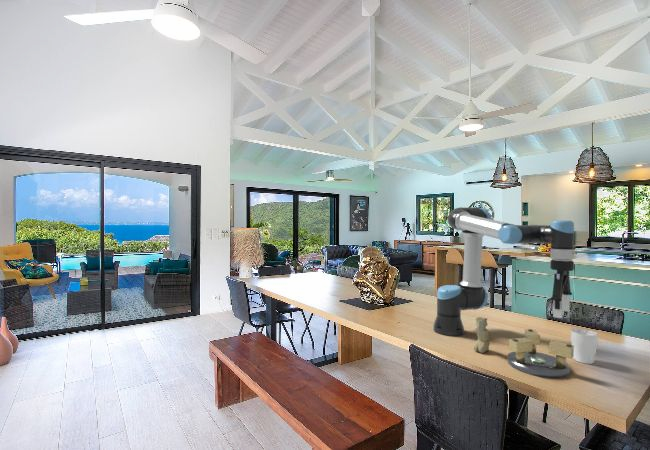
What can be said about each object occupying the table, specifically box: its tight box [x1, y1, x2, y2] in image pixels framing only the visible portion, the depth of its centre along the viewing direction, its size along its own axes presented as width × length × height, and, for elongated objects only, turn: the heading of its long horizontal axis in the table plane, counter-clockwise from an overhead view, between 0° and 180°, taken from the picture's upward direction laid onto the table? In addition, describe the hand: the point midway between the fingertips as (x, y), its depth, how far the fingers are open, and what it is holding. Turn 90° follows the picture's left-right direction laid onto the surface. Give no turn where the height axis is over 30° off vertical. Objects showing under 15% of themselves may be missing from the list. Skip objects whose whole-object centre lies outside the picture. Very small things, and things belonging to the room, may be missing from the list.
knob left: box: [508, 337, 532, 364], centre depth 135 cm, size 7×4×9 cm, turn 103°
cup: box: [570, 328, 599, 365], centre depth 142 cm, size 9×9×12 cm
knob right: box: [548, 340, 574, 369], centre depth 131 cm, size 7×4×9 cm, turn 43°
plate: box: [507, 351, 570, 379], centre depth 137 cm, size 21×21×3 cm
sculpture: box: [473, 316, 491, 354], centre depth 152 cm, size 6×7×15 cm
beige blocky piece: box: [524, 328, 541, 354], centre depth 144 cm, size 7×4×9 cm, turn 163°
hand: (561, 314), depth 134 cm, fingers open, 13 cm apart
